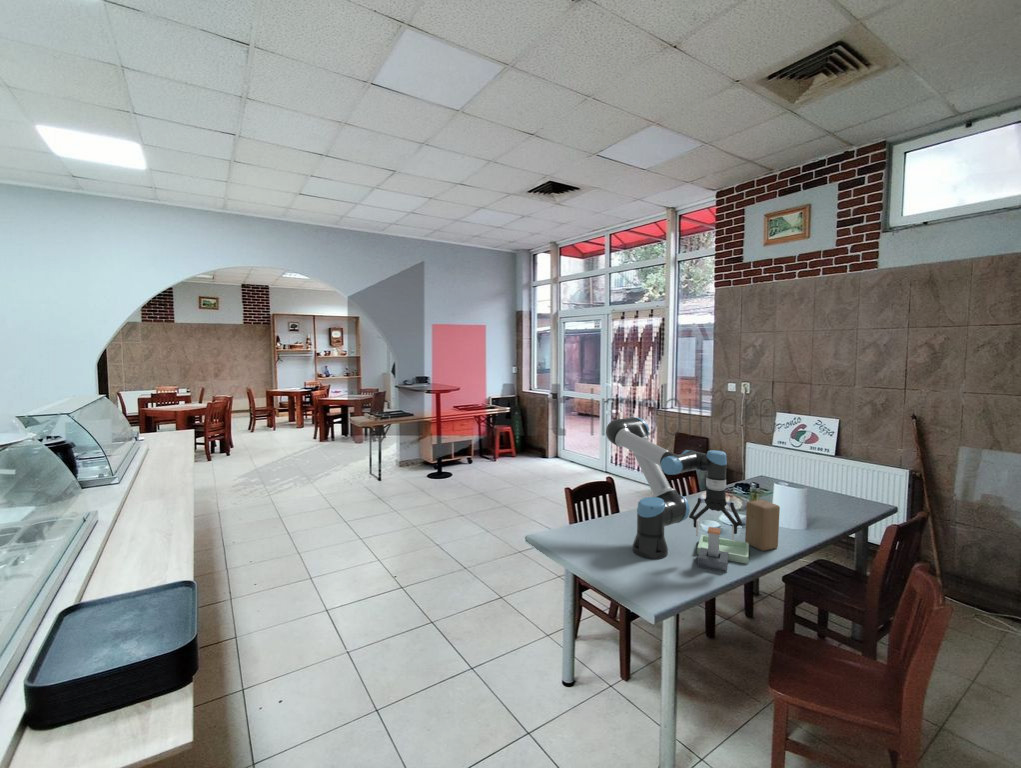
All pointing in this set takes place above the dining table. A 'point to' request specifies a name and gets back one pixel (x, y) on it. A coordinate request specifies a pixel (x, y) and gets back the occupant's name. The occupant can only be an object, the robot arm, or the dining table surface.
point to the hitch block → (713, 560)
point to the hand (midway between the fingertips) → (714, 538)
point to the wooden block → (762, 524)
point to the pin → (713, 542)
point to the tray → (729, 548)
